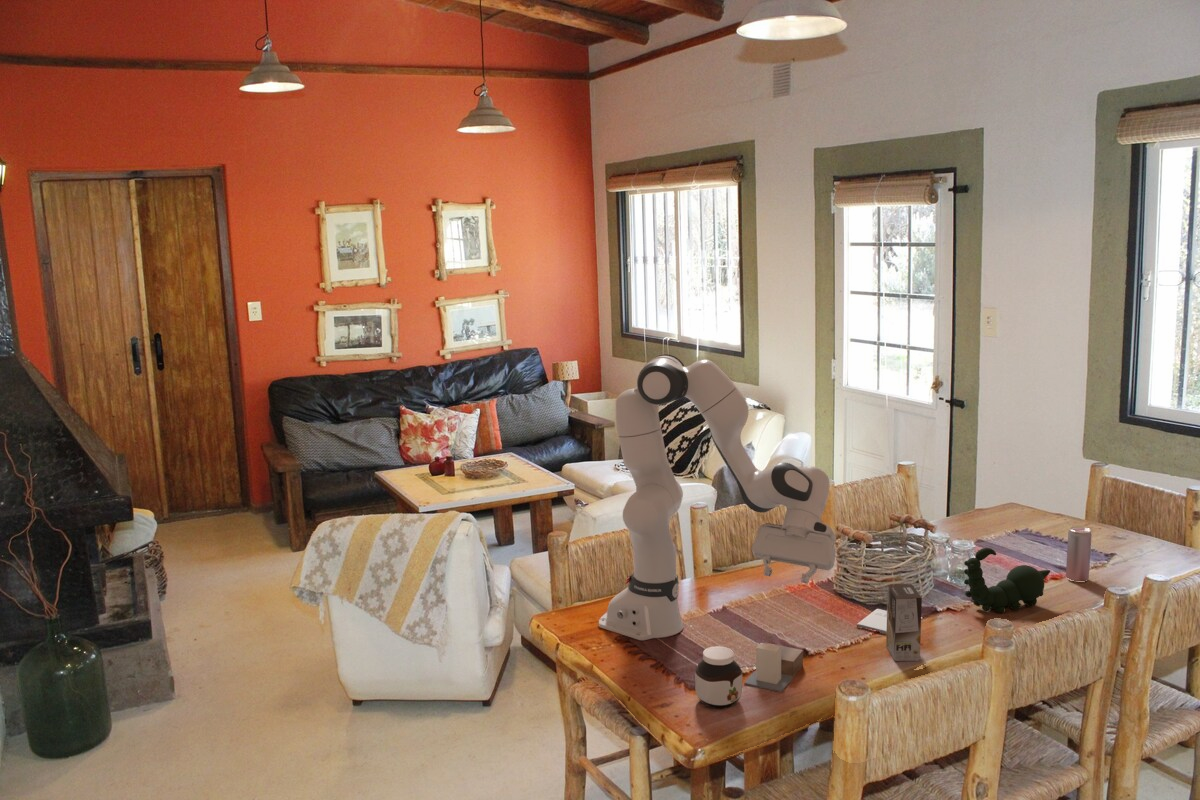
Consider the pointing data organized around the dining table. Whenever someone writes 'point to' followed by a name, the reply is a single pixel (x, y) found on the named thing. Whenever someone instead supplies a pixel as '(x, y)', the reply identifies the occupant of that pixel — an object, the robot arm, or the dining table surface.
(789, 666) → the deck
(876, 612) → the external hard drive
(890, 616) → the coffee box
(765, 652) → the block
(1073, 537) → the beverage can
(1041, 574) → the toy figurine
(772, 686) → the mat
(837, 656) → the dining table surface
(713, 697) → the spread jar
